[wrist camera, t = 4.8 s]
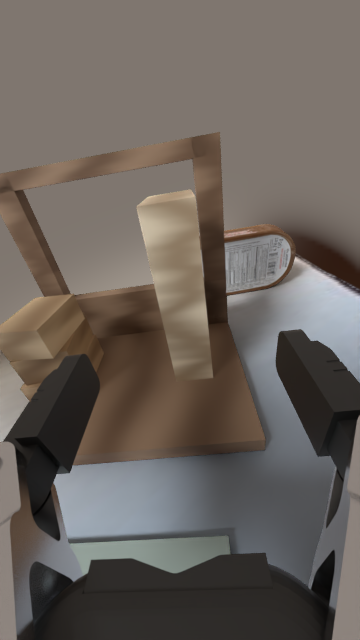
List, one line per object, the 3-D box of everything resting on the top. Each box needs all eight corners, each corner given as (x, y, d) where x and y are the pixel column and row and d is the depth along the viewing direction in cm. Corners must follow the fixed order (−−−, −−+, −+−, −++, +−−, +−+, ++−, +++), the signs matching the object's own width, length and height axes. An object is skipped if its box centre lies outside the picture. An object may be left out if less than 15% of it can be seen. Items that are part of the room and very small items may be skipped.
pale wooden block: (176, 381, 19) (136, 206, 11) (176, 339, 23) (148, 196, 16) (213, 377, 18) (195, 196, 11) (206, 336, 23) (190, 189, 16)
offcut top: (9, 360, 16) (-12, 334, 15) (48, 321, 20) (35, 297, 19) (53, 358, 16) (36, 330, 14) (84, 318, 20) (73, 293, 18)
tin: (284, 278, 34) (290, 217, 29) (295, 286, 31) (304, 221, 27) (184, 295, 34) (175, 237, 29) (187, 305, 31) (177, 243, 27)
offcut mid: (27, 385, 17) (9, 362, 16) (51, 341, 22) (39, 320, 21) (79, 374, 17) (66, 351, 16) (92, 332, 22) (83, 312, 21)
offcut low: (35, 408, 18) (20, 388, 17) (66, 357, 23) (56, 339, 22) (83, 403, 18) (70, 383, 17) (103, 353, 23) (95, 334, 22)
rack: (0, 471, 16) (-350, 187, 6) (76, 343, 27) (-9, 177, 18) (264, 450, 14) (306, 47, 5) (226, 324, 26) (217, 134, 17)
